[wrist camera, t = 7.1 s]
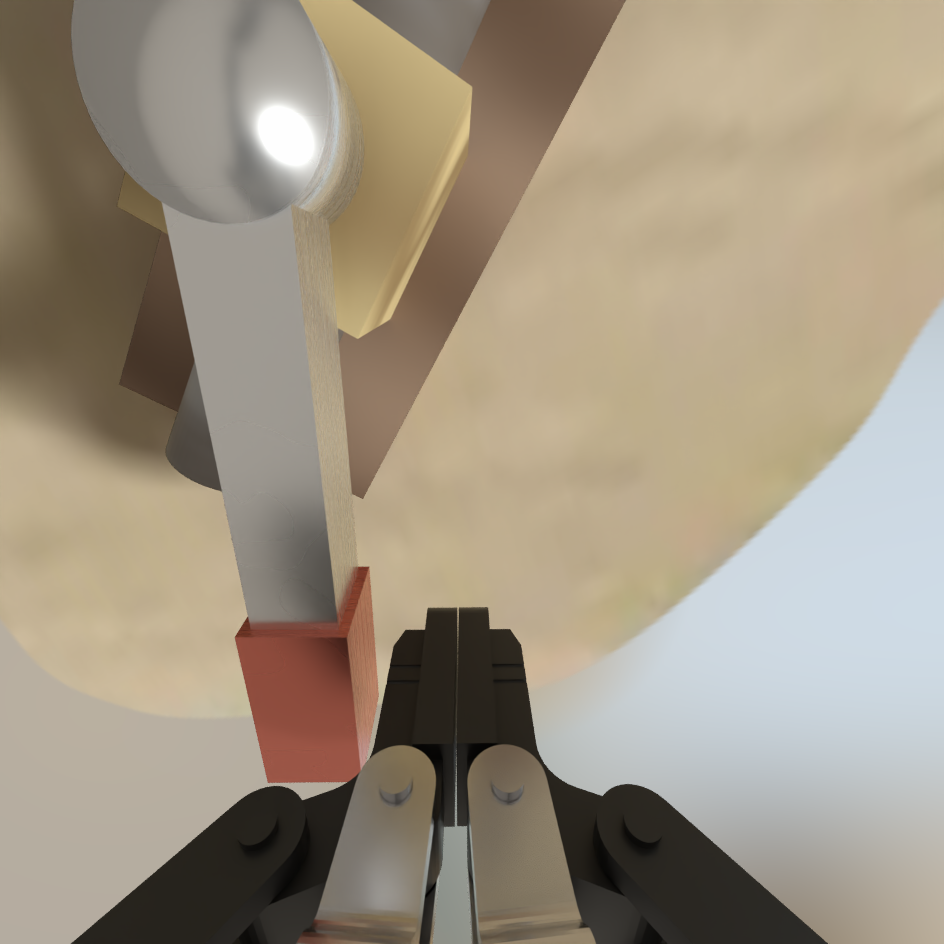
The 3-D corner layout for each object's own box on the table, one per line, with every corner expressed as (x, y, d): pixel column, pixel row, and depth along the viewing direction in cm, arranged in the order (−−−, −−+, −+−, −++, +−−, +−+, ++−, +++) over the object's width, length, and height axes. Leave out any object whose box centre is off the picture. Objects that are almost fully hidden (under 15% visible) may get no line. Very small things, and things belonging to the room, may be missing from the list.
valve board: (347, -247, 10) (163, -1109, 4) (628, -10, 12) (820, -340, 6) (159, 371, 16) (-51, 437, 9) (373, 475, 17) (321, 592, 11)
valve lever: (163, 19, 7) (24, -104, 4) (357, 28, 7) (311, -87, 5) (286, 692, 12) (248, 782, 10) (395, 692, 12) (380, 781, 10)
